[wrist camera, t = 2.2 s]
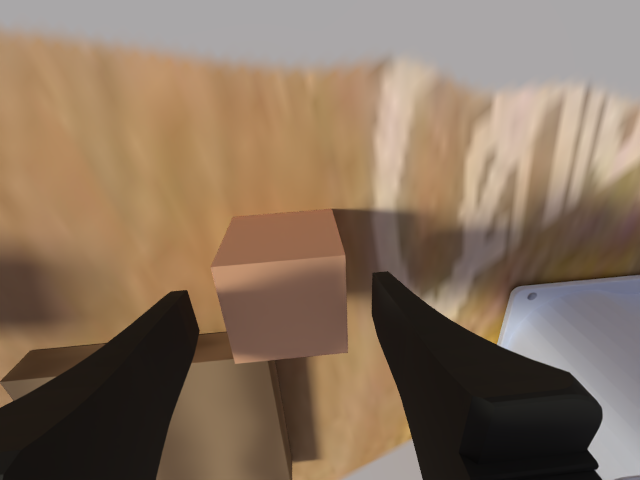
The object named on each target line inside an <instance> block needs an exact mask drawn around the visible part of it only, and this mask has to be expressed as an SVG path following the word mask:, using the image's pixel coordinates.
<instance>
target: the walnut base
mask: <svg viewBox="0 0 640 480" xmlns="http://www.w3.org/2000/svg"><path fill="white" fill-rule="evenodd" d="M104 345H105V344H97V345H86V346H76V347H65V348H55V349H44V350H34V351H29V352H28V353H27V354H26V356H25V357H24V358H23V359H22V360H21V361H20V362H19V363H18V364H17V365H16V366H15V367H14V368H13V369H12V370H11V371H10V372H9V373H8V374H7V375H6V376H5V377H4V378H3V379H2V380H1V381H0V383H1V385H2V386H3V387H4V389H5V390H6V391H7V393H8V394H9V395H10V397H11V398H12V399H13V401H14V400H16V399H18V398H20V397H22V396H24V395H26V394H28V393H29V392H31V391H33V390H35V389H36V388H38V387H40V386H42V385H43V384H45V383H47V382H48V381H50V380H52V379H53V378H55V377H57V376H59V375H60V374H62V373H64V372H65V371H67V370H69V369H70V368H72V367H73V366H75V365H76V364H78V363H79V362H81V361H82V360H84V359H85V358H87V357H88V356H90V355H91V354H93V353H94V352H96V351H97V350H98V349H100V348H101V347H103V346H104ZM156 480H292V457H291V451H290V445H289V439H288V433H287V427H286V422H285V416H284V410H283V404H282V398H281V393H280V387H279V381H278V375H277V369H276V363H275V360H269V361H259V362H249V363H239V364H235V361H234V358H233V354H232V350H231V346H230V342H229V338H228V334H227V332H223V333H212V334H202V335H199V336H198V341H197V346H196V350H195V354H194V357H193V360H192V363H191V366H190V369H189V371H188V374H187V377H186V380H185V382H184V385H183V388H182V390H181V393H180V396H179V398H178V401H177V404H176V406H175V409H174V412H173V415H172V418H171V421H170V425H169V428H168V432H167V436H166V440H165V444H164V448H163V451H162V456H161V460H160V464H159V468H158V473H157V477H156Z"/></svg>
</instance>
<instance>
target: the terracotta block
mask: <svg viewBox="0 0 640 480" xmlns="http://www.w3.org/2000/svg"><path fill="white" fill-rule="evenodd" d="M211 271H212V275H213V279H214V283H215V287H216V291H217V295H218V298H219V302H220V306H221V310H222V314H223V318H224V322H225V326H226V330H227V334H228V338H229V342H230V346H231V350H232V354H233V358H234V361H235V364H239V363H249V362H259V361H269V360H279V359H289V358H299V357H309V356H319V355H329V354H338V353H348V333H347V294H346V255H345V252H344V248H343V245H342V242H341V238H340V235H339V232H338V228H337V225H336V221H335V218H334V215H333V211H332V209H324V210H311V211H299V212H287V213H275V214H263V215H251V216H238V217H233V218H232V220H231V222H230V225H229V227H228V229H227V231H226V234H225V236H224V238H223V240H222V243H221V245H220V247H219V249H218V252H217V254H216V256H215V258H214V261H213V263H212V265H211Z"/></svg>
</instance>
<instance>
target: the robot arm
mask: <svg viewBox="0 0 640 480" xmlns="http://www.w3.org/2000/svg"><path fill="white" fill-rule="evenodd" d="M530 293H531V294H530ZM529 294H530V295H529ZM372 317H373V321H374V325H375V329H376V333H377V337H378V339H379V342H380V344H381V347H382V350H383V352H384V355H385V357H386V360H387V362H388V365H389V367H390V370H391V373H392V375H393V378H394V380H395V383H396V385H397V388H398V391H399V394H400V397H401V400H402V403H403V407H404V410H405V414H406V417H407V421H408V424H409V428H410V432H411V436H412V439H413V443H414V446H415V451H416V454H417V458H418V462H419V466H420V470H421V474H422V478H423V480H640V275H634V276H623V277H612V278H601V279H591V280H580V281H569V282H558V283H548V284H537V285H526V286H519V287H516V288H515V289H514V290H513V291H512V292H511V294H510V298H509V302H508V305H507V309H506V313H505V317H504V320H503V324H502V328H501V332H500V335H499V339H498V343H497V345H496V344H494V343H492V342H490V341H488V340H486V339H484V338H482V337H480V336H478V335H476V334H474V333H472V332H470V331H469V330H467V329H465V328H463V327H462V326H460V325H458V324H457V323H455V322H453V321H451V320H450V319H448V318H447V317H445V316H444V315H442V314H441V313H439V312H438V311H436V310H435V309H434V308H432V307H431V306H429V305H428V304H427V303H425V302H424V301H423V300H421V299H420V298H419V297H418V296H416V295H415V294H414V293H413V292H411V291H410V290H409V289H408V288H407V287H405V286H404V285H403V284H402V283H401V282H400V281H398V280H397V279H396V278H395V277H394V276H393V275H392V274H390V273H389V272H388V271H387V272H377V273H373V278H372ZM199 331H200V330H199V327H198V324H197V321H196V317H195V314H194V311H193V308H192V304H191V301H190V298H189V295H188V291H187V290H183V291H172V292H170V293H169V294H167V295H166V296H165V297H163V298H162V299H161V300H160V301H158V302H157V303H156V304H155V305H154V306H152V307H151V308H150V309H149V310H148V311H147V312H145V313H144V314H143V315H142V316H141V317H139V318H138V319H137V320H136V321H134V322H133V323H132V324H131V325H130V326H128V327H127V328H126V329H125V330H123V331H122V332H121V333H119V334H118V335H117V336H116V337H114V338H113V339H112V340H110V341H109V342H108V343H106V344H105V345H104V346H103V347H101V348H100V349H98V350H97V351H96V352H94V353H93V354H91V355H90V356H88V357H87V358H85V359H84V360H82V361H81V362H79V363H78V364H76V365H75V366H73V367H72V368H70V369H69V370H67V371H65V372H64V373H62V374H60V375H59V376H57V377H55V378H53V379H52V380H50V381H48V382H47V383H45V384H43V385H42V386H40V387H38V388H36V389H35V390H33V391H31V392H29V393H28V394H26V395H24V396H22V397H20V398H18V399H16V400H14V401H13V402H11V403H9V404H7V405H5V406H3V407H1V408H0V480H156V477H157V473H158V468H159V464H160V460H161V456H162V451H163V448H164V444H165V440H166V436H167V432H168V428H169V425H170V421H171V418H172V415H173V412H174V409H175V406H176V404H177V401H178V398H179V396H180V393H181V390H182V388H183V385H184V382H185V380H186V377H187V374H188V371H189V369H190V366H191V363H192V360H193V357H194V354H195V350H196V346H197V341H198V336H199Z"/></svg>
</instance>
